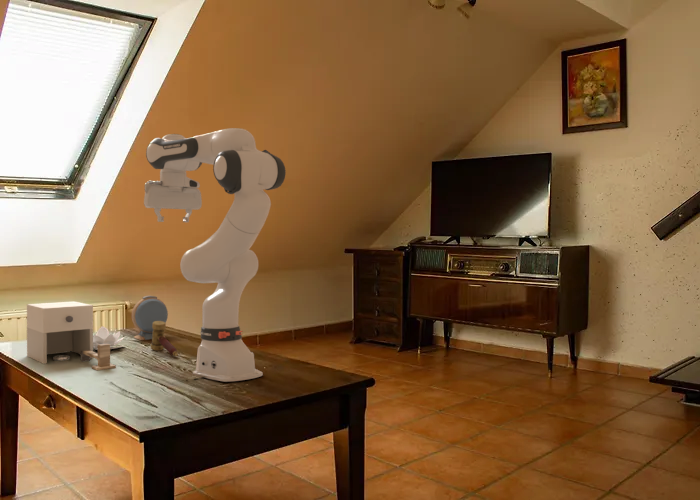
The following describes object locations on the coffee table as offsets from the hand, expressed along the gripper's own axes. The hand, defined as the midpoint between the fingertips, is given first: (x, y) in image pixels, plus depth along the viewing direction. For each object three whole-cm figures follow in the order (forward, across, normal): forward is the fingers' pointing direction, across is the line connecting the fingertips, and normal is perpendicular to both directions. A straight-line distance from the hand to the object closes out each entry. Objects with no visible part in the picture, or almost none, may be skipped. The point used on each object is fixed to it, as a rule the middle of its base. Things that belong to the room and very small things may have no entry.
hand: (173, 222), depth 221 cm
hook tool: (+47, -26, -5) cm, 54 cm away
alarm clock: (+47, +10, +42) cm, 63 cm away
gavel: (+48, 0, +8) cm, 49 cm away
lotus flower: (+47, -13, +28) cm, 56 cm away
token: (+47, -31, +20) cm, 60 cm away
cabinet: (+47, -30, +24) cm, 61 cm away
